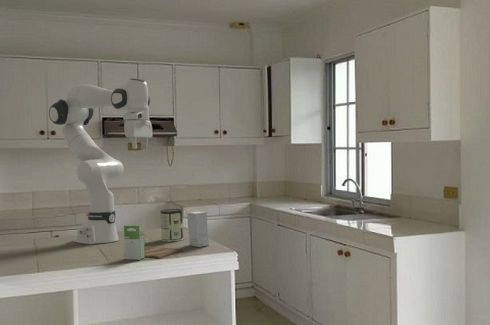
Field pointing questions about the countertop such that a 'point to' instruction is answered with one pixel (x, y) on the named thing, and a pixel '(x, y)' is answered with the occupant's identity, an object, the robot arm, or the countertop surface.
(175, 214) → the coffee can
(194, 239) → the skincare box
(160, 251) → the walnut board
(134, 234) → the ink box
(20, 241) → the countertop surface
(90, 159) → the robot arm
